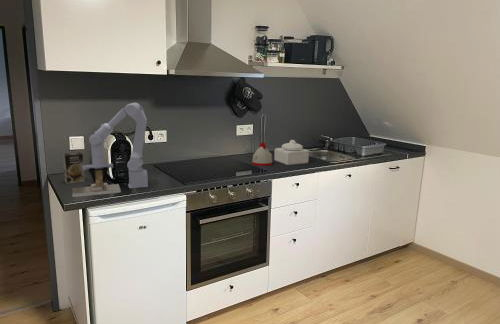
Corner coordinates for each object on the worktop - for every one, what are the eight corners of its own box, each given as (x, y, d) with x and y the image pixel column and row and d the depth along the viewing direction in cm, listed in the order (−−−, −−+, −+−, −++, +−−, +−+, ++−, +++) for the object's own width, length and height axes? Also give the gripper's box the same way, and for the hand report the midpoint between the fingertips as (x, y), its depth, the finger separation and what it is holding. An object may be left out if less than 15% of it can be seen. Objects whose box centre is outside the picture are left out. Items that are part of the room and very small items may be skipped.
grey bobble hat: (257, 166, 257) (257, 144, 254) (249, 162, 270) (249, 141, 267) (275, 165, 263) (276, 143, 260) (266, 161, 275) (267, 140, 272)
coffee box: (67, 184, 207) (64, 155, 204) (64, 182, 212) (62, 153, 209) (85, 182, 212) (82, 153, 209) (82, 179, 217) (80, 151, 214)
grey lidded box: (274, 160, 278) (275, 138, 275) (295, 158, 287) (296, 137, 283) (287, 165, 263) (288, 142, 260) (309, 163, 271) (310, 140, 268)
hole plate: (118, 187, 204) (118, 183, 203) (120, 193, 194) (120, 189, 193) (72, 191, 195) (72, 187, 194) (72, 198, 185) (72, 193, 185)
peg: (103, 184, 208) (102, 169, 206) (103, 186, 204) (102, 171, 203) (95, 184, 206) (94, 170, 204) (95, 186, 203) (94, 171, 201)
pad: (107, 183, 210) (107, 182, 210) (108, 187, 203) (108, 186, 203) (91, 185, 207) (91, 184, 207) (91, 189, 200) (91, 188, 200)
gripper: (111, 154, 208) (113, 178, 211) (82, 156, 203) (84, 181, 205) (112, 156, 202) (114, 181, 205) (82, 158, 196) (84, 184, 199)
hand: (99, 181), depth 205 cm, fingers closed on peg, 4 cm apart
